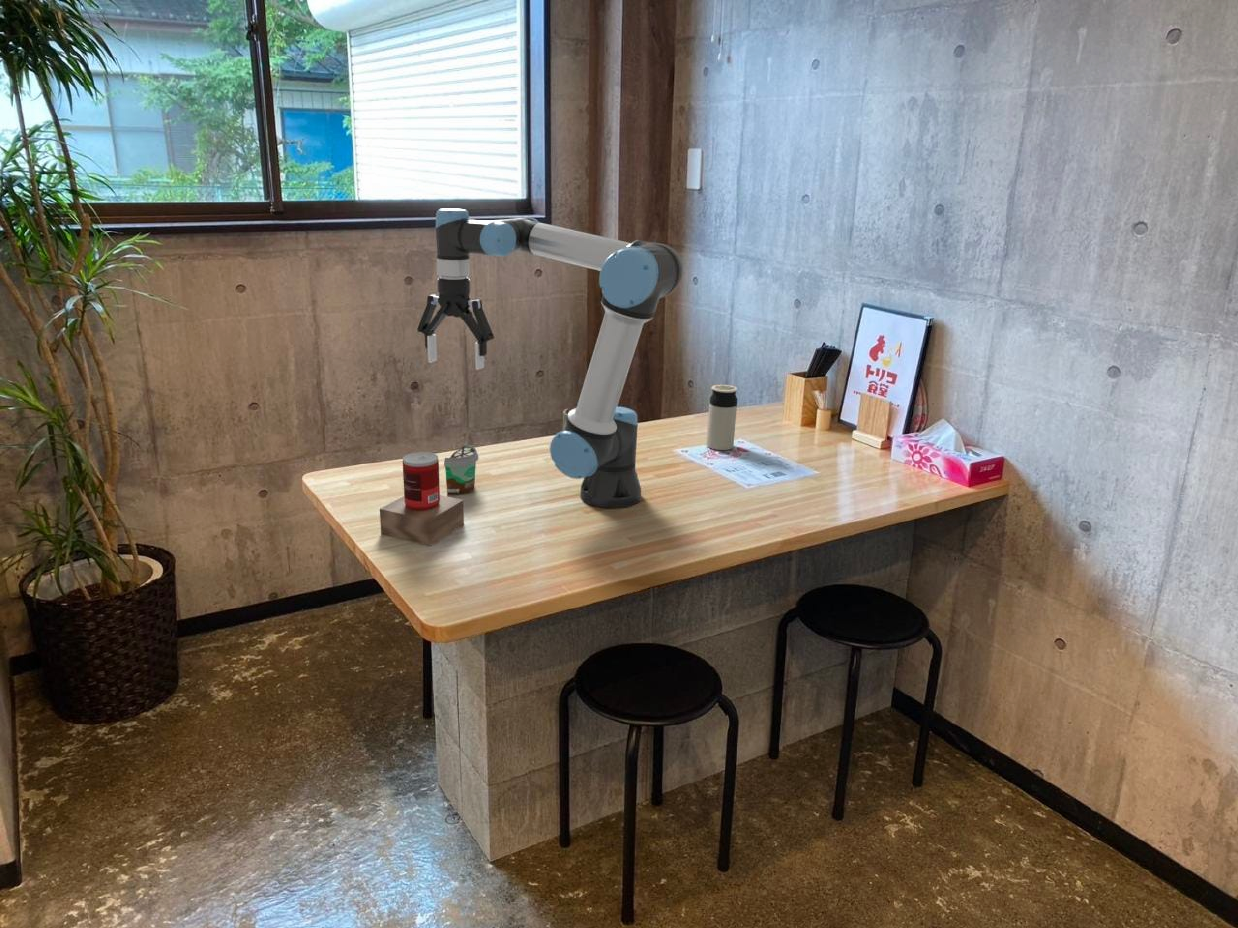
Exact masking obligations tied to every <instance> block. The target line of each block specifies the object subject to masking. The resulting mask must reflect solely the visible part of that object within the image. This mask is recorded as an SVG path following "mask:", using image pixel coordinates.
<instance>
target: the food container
mask: <svg viewBox="0 0 1238 928" xmlns="http://www.w3.org/2000/svg"><path fill="white" fill-rule="evenodd" d="M478 453H479V452H478V450H477V449H476V447H474V446H472V445H470V444H465V443H461V447H460V448H459V449H458V450H456V451H454V452H453V453H452V454H451V455H450V456H449V457H444V460H443V462H444V463H443V467H444V468H445V470H444V471H445V479H446V481H445V482H446V483H445V485H446V494H447V496H459V495H466V494H470V493H471V492H473V491H474V490H475V482H476V481H475V480H476V465H477V464H476V463H477V462H478V460H479V454H478Z"/></svg>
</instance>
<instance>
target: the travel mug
mask: <svg viewBox="0 0 1238 928" xmlns="http://www.w3.org/2000/svg"><path fill="white" fill-rule="evenodd" d="M711 390H712V393H711V395H710V397H709V406H708V420H707V431H706V433H707V434H706V446H707V447H708V448H710V449H711V448H712V450H714V449H715V451H729V450H731V449H734V444H735V433H736V423H737V422H736V421H737V409H738V398H737V391H738V387H737V386H735V385H731V384H714V385H712V386H711Z"/></svg>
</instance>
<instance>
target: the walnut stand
mask: <svg viewBox="0 0 1238 928" xmlns="http://www.w3.org/2000/svg"><path fill="white" fill-rule="evenodd" d="M464 513H465V511H464V499H460V498H456V497H452V496H451V497H450V496H448V495H447V496H446V495H442V494H440V501H439V505H438V506H436V507H435V508H433V509H429V510H423V511H418V510H412V509H409V508H408V507H407V506H406V504H405V499H404V495H402V496H401V497H400V498H398V499H395V500H393V501H391V502H390V503H388V504H386V505H385V506H383V507H380V508H379V522H380V534H381V535H384V536H389V537H392V538H395V539H399V540H400V539H401V540H405V541H408V542H412V543H417V544H422V545H426V546H429V547H431V546H433V545H434V544H436V543H438V542H439V541H440V540H442V539H444V538H445V537H446V536H449V535H450V534H451V533H452V532H455V531H456V530H458V529H459V528H461V527H462V526H464V525H465V515H464Z"/></svg>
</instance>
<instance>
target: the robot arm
mask: <svg viewBox="0 0 1238 928" xmlns="http://www.w3.org/2000/svg"><path fill="white" fill-rule="evenodd" d="M469 214H470V213H469V211H468V210H467V209H463V208H451V207H450V208H440V209H438V210H436V214H435V238H436V239H435V240H436V241H435V242H436V271H437V272H436V273H437V276H439V277H437V293H438V295H439V296H438V295H437V294H435V293H434V294H430V295H427V297H426V300H427V301H426V306H425V309H424V311H423V313H422V316H421V318H420V321H419V324H418V326H417V329H416V331H417V332H418V333H422V334H423V335H424V347H425V349H427V362H428V363H430V364H431V363H435V362H437V361H438V352H437V351H438V350H437V345H438V344H437V342H438V341H437V334H435V331H436V329H438V328H439V326H440V325H441V324H442V322H443V320H445V318H446V317H454V318H460V319H461V320H462V321H463V322H464V323H465V324H466V326H467V327H468V329H469V331H470V332H471V333H472V335H473V336H474V338H475V339H476V342H474V348H475V349H474V353H475V354H474V356H475V357H474V358H475V359H474V361H475V363H474V364H475V371H476V370H477V371H479V370H481V369H484V368H485V356H486V355H487V353H488V350H487V349H488V347H487V345H488V342H489V341H492V340H494V338H495V336H494V333H493V330H492V329H491V326H490V324H489V322H488V319H487V317H486V314H485V312H484V309H483V302H482V299H474V300H471V298H470V293H471V279H470V278H469V276H470V274H471V273H470V272H471V271H470V270H471V269H470V265H471V264H470V254H477V255H483V256H484V255H485V256H491V257H493V258H494V257H495V258H496V257H508V256H509V255H511V253H514V252H520V253H521V252H522V253H526V254H530V255H535V256H538V257H543V258H548V259H550V260H554V261H559V262H564V263H567V264H571V265H576V266H579V267H583V268H587V269H592V270H596V271H599V279H598V282H599V283H598V284H599V287H600V288H601V293H602V297H601V300H600V304H601V305H602V307H603V309H604V316H603V319H602V322H601V325H600V327H599V332H598V336H597V338H596V342H595V345H594V349H593V352H592V356H591V358H590V362H589V366H588V369H587V372H586V376H585V378H584V381H583V386H582V389H581V393H580V396H579V399H578V402H577V404H576V405H577V406H576V407H575V408H573V409H571V410H568V411H569V413H568V415H567V419H566V422H565V426H564V429H563V428H562V431H559V432H557V433H555V435H554V436H553V438H552V439H551V441H550V447H549V452H550V457H551V459H552V462H553V463H554V466H555V467H556V468H557V469H558V471H559V472H560V473H561V474H563V475H564V476H566V477H568V478H570V479H574V480H575V479H576V480H577V479H578V480H580V479H583V480H582V482H581V486H580V493H579V494H580V499H581V500H582V501H583V502H584V503H586V504H588V505H591V506H595V507H599V508H605V509H606V508H607V509H619V508H626V507H631V506H634V505H636V504H638V503H639V502H640V501H641V499H642V487H641V484H640V480H639V478H638V477H639V476H638V472H637V469H636V460H637V458H636V457H637V441H638V440H637V439H638V427H639V424H638V413H636V411H635V410H633V409H631V408H628V407H625V406H618V405H619V402H620V398H621V395H622V393H623V389H624V387H625V383H626V380H627V376H628V373H629V371H630V367H631V364H632V361H633V357H634V356H635V355H634V354H635V352H636V348H637V346H638V343H639V339H640V336H641V333H642V329H643V327H644V324H645V323H647V322H649V321H651V320H653V319H654V316H655V314H656V313H655V312H656V311H657V308H658V307H657V306H658V304H659V301H660V299H661V298H662V299H663V298H666V297H667V296H669V295H671V294H672V293H673V292H675V291H676V290H677V289H678V287H679V286H680V283H681V282H682V279H683V274H684V267H683V262H682V259H681V257H680V256H679V254H678V253H677V251H675V249H673V247H670V246H669V245H667V244H663V243H659V242H657V243H656V242H649V241H645V240H640V239H636V240H634V241H632V242H627V241H623V240H618V239H614V238H611V237H605V236H600V235H596V234H593V233H588V232H583V231H579V230H573V229H569V228H565V227H561V226H556V225H552V224H548V223H542V222H540V221H539V220H537V219H536V218H534V217H524V216H522V217H517V218H508V219H507V218H506V219H494V220H493V219H491V220H481V219H479V220H478V219H477V220H476V219H471V218H470V215H469ZM437 305H439V307H440V308H439V309H438V310H437V312H436V314H435V311H436V309H437ZM470 309H471V310H472V311H471V310H470ZM434 314H435V316H434ZM473 315H474V316H473ZM433 316H434V317H433ZM432 318H433V319H432Z"/></svg>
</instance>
